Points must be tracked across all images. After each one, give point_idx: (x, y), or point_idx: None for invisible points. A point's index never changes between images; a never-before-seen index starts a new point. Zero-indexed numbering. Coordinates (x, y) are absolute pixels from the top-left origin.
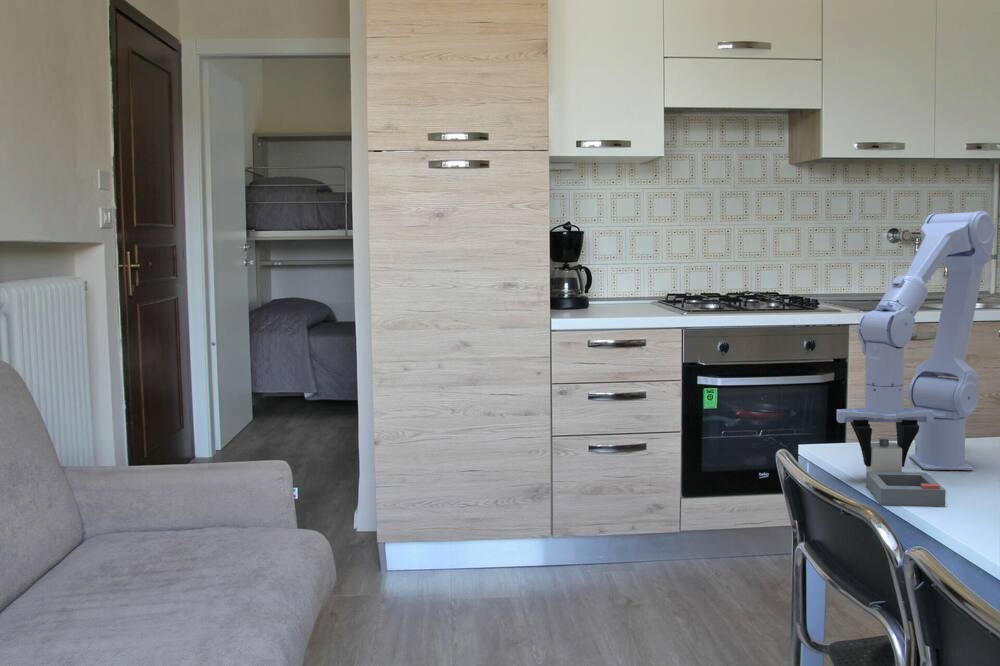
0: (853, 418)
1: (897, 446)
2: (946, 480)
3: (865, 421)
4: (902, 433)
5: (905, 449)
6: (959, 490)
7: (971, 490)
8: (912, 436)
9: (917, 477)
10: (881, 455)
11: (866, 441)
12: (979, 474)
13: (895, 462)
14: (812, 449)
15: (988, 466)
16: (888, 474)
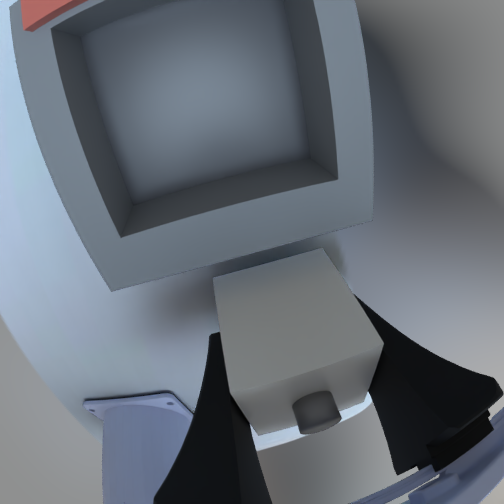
0: (485, 441)
1: (252, 410)
2: (97, 341)
3: (450, 458)
4: (244, 477)
5: (212, 398)
6: (33, 259)
7: (12, 271)
8: (184, 469)
9: (137, 226)
10: (326, 330)
11: (421, 365)
12: (64, 386)
13: (249, 323)
14: (365, 402)
15: (78, 417)
16: (282, 198)
